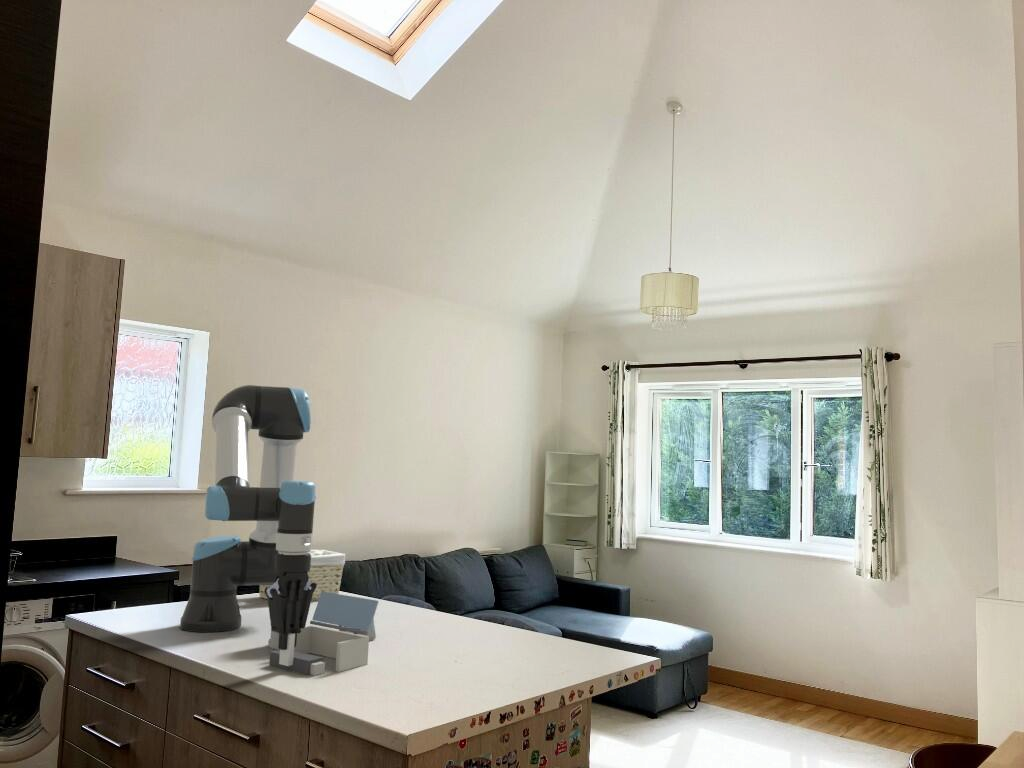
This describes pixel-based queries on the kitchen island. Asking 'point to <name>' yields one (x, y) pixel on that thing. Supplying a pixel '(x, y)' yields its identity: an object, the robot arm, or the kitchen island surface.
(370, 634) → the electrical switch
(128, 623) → the kitchen island surface
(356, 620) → the cover
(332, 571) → the storage basket
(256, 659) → the kitchen island surface
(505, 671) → the kitchen island surface
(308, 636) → the white u-shaped bracket
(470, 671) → the kitchen island surface
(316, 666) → the dark grey block
